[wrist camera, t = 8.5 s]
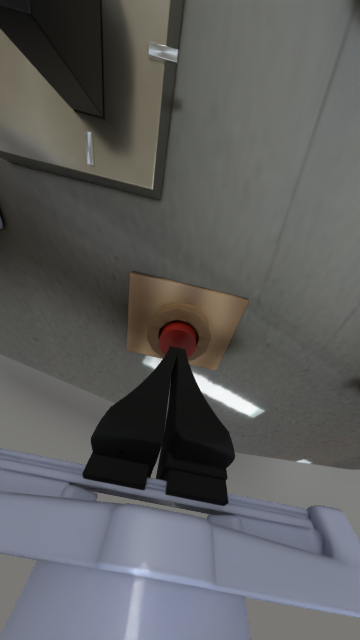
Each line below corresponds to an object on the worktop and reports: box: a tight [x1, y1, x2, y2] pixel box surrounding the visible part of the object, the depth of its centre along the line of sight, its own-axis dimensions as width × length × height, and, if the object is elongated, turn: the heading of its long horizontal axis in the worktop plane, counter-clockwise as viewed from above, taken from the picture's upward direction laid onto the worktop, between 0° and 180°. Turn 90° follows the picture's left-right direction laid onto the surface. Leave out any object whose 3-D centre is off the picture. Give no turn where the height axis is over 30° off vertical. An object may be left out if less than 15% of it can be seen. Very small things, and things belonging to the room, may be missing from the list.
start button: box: [159, 321, 196, 358], centre depth 14 cm, size 4×4×2 cm
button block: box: [127, 271, 249, 370], centre depth 16 cm, size 12×10×2 cm
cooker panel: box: [0, 0, 184, 200], centre depth 8 cm, size 13×10×3 cm
